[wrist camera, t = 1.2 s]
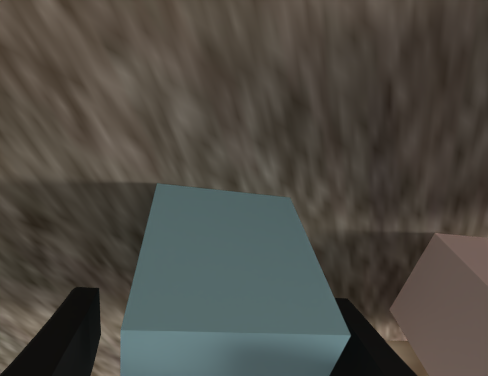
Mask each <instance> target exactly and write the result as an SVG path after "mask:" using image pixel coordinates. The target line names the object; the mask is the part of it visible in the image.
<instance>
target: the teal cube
mask: <svg viewBox="0 0 488 376" xmlns="http://www.w3.org/2000/svg"><path fill="white" fill-rule="evenodd" d="M350 336H351V335H350V332H349V330H348V328H347V325H346V323H345V321H344V319H343V316H342V314H341V312H340V310H339V307H338V305H337V303H336V301H335V298H334V296H333V294H332V292H331V289H330V287H329V285H328V282H327V280H326V278H325V276H324V273H323V271H322V269H321V267H320V264H319V262H318V260H317V258H316V255H315V253H314V251H313V248H312V246H311V244H310V242H309V239H308V237H307V235H306V233H305V230H304V228H303V226H302V224H301V221H300V219H299V217H298V215H297V212H296V210H295V208H294V205H293V203H292V201H291V199H290V198H289V197H279V196H270V195H261V194H252V193H242V192H233V191H224V190H214V189H205V188H196V187H186V186H177V185H168V184H159V183H157V186H156V190H155V194H154V198H153V202H152V206H151V210H150V214H149V218H148V222H147V226H146V230H145V234H144V238H143V242H142V246H141V250H140V254H139V258H138V263H137V267H136V271H135V275H134V279H133V283H132V287H131V291H130V295H129V299H128V303H127V307H126V311H125V315H124V319H123V323H122V327H121V376H329V375H330V373H331V371H332V370H333V368H334V366H335V364H336V362H337V360H338V358H339V357H340V355H341V353H342V351H343V349H344V347H345V345H346V344H347V342H348V340H349V338H350Z"/></svg>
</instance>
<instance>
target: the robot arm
mask: <svg viewBox="0 0 488 376" xmlns="http://www.w3.org/2000/svg"><path fill="white" fill-rule="evenodd" d="M335 301H336V303H337V305H338V307H339V310H340V312H341V314H342V316H343V319H344V321H345V323H346V325H347V328H348V330H349V332H350V335H351V336H350V338H349V340H348V342H347V344H346V345H345V347H344V349H343V351H342V353H341V355H340V357H339V358H338V360H337V362H336V364H335V366H334V368H333V370H332V371H331V373H330V375H329V376H417V374H416V373H415V372H414V371H413V370H412V369H411V368H410V367H409V366H408V365H407V364H406V363H405V362H404V361H403V360H402V359H401V358H400V357H399V355H398V354H397V353H396V352H395V351H394V350H393V349H392V348H391V347H390V346H389V345H388V343H387V342H386V341H385V340H384V339H383V338H382V337H381V336H380V335H379V333H378V332H377V331H376V330H375V329H374V328H373V327H372V326H371V324H370V323H369V322H368V321H367V320H366V319H365V318H364V316H363V315H362V314H361V313H360V312H359V311H358V310H357V309H356V308H355V306H354V305H353V304H352V303H351V302H350V301H349V300H348V299H343V298H335ZM100 336H101V325H100V299H99V288H86V287H76V288H74V289H73V290H72V291H71V292H70V294H69V295H68V296H67V298H66V299H65V300H64V302H63V303H62V304H61V305H60V307H59V308H58V309H57V310H56V312H55V313H54V314H53V315H52V317H51V318H50V319H49V320H48V321H47V323H46V324H45V325H44V326H43V327H42V329H41V330H40V331H39V332H38V333H37V335H36V336H35V337H34V338H33V339H32V340H31V341H30V342H29V344H28V345H27V346H26V347H25V348H24V349H23V350H22V352H21V353H20V354H19V355H18V356H17V357H16V358H15V359H14V361H13V362H12V363H11V364H10V365H9V366H8V367H7V368H6V369H5V370H4V371H3V372H2V373H1V374H0V376H90V375H91V372H92V368H93V365H94V361H95V357H96V352H97V348H98V344H99V340H100Z"/></svg>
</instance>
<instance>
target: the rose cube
mask: <svg viewBox="0 0 488 376" xmlns="http://www.w3.org/2000/svg"><path fill="white" fill-rule="evenodd" d="M389 310H390V312H391V313H392V315H393V317H394V318H395V320H396V322H397V323H398V325H399V327H400V328H401V330H402V332H403V333H404V335H405V337H406V338H407V340H408V342H409V343H410V345H411V347H412V348H413V350H414V352H415V353H416V355H417V357H418V358H419V360H420V362H421V363H422V365H423V367H424V368H425V370H426V372H427V373H428V375H429V376H488V238H484V237H473V236H463V235H452V234H441V233H434V235H433V237H432V238H431V240H430V242H429V243H428V245H427V247H426V249H425V250H424V252H423V254H422V255H421V257H420V259H419V260H418V262H417V264H416V265H415V267H414V269H413V271H412V272H411V274H410V276H409V277H408V279H407V281H406V282H405V284H404V286H403V287H402V289H401V291H400V293H399V294H398V296H397V298H396V299H395V301H394V303H393V304H392V306H391V308H390V309H389Z"/></svg>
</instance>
